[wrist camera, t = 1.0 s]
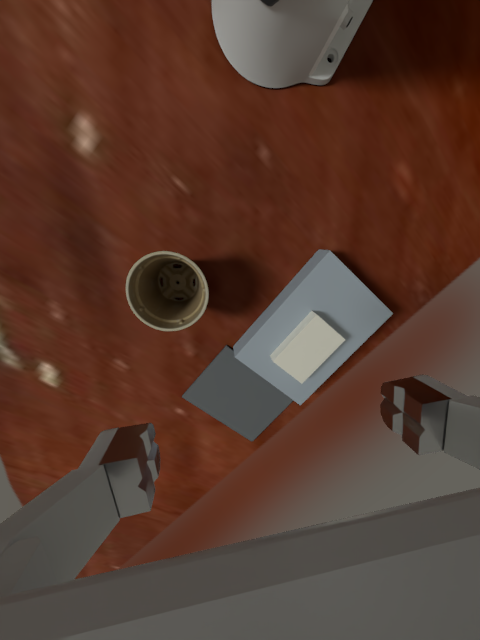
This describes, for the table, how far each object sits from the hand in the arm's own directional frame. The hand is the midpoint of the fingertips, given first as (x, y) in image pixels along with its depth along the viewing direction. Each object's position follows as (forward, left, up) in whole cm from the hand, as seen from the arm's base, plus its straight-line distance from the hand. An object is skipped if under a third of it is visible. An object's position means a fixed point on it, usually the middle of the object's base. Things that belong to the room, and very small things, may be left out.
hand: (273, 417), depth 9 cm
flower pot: (+5, -6, -31) cm, 32 cm away
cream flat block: (0, +14, -27) cm, 30 cm away
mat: (+14, +14, -31) cm, 37 cm away
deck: (-2, +14, -31) cm, 34 cm away
